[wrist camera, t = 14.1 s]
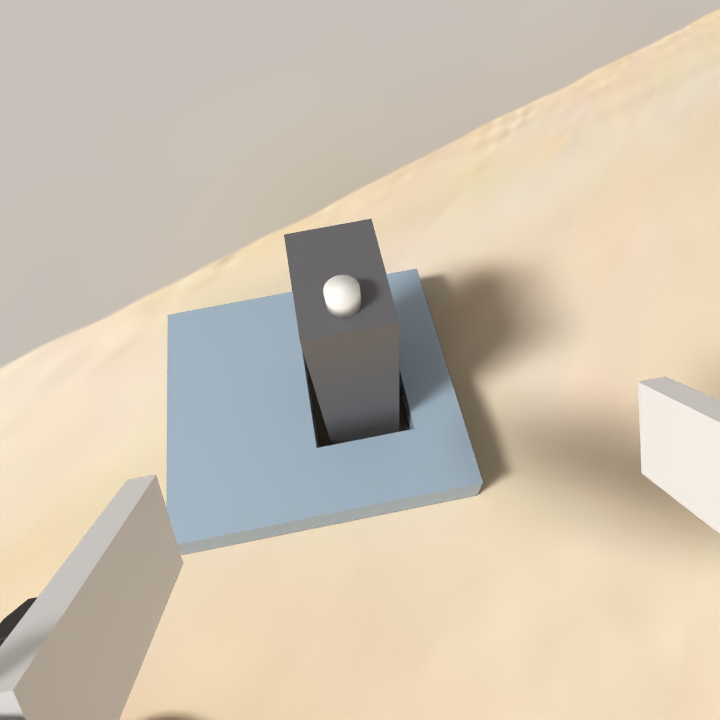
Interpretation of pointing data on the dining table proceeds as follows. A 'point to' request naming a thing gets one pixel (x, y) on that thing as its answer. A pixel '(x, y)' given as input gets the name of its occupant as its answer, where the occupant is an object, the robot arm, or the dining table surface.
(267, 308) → the plate
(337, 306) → the servo block
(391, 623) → the dining table surface
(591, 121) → the dining table surface
